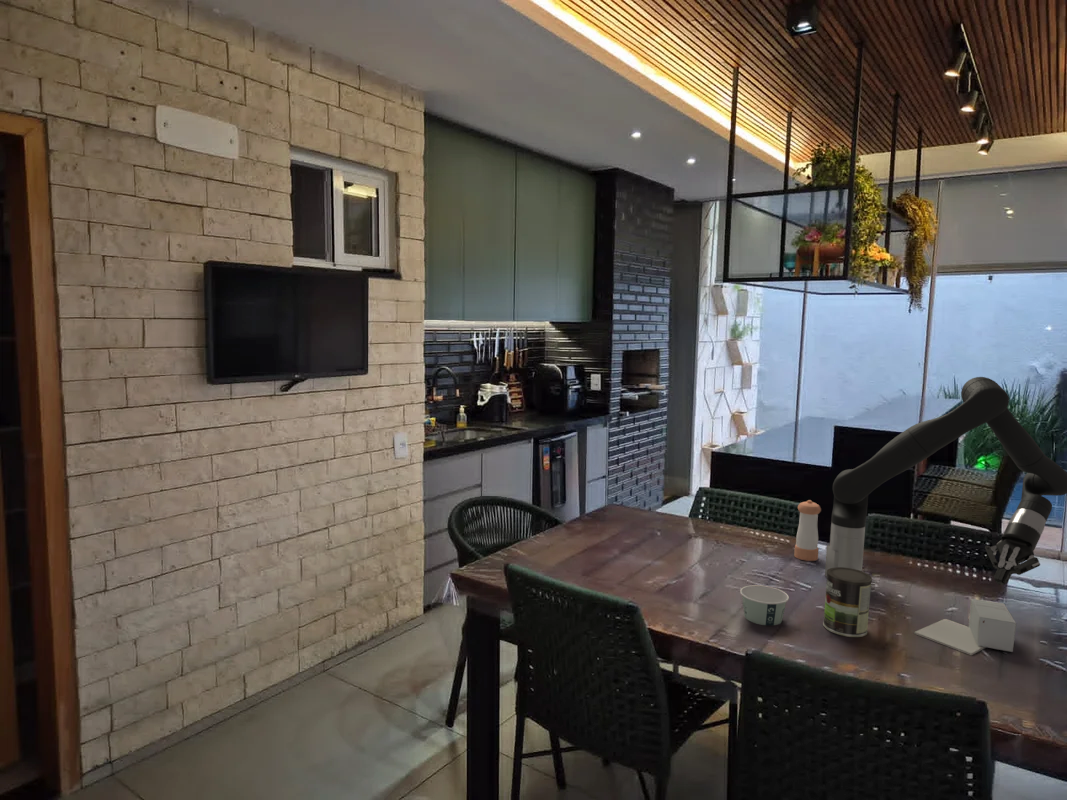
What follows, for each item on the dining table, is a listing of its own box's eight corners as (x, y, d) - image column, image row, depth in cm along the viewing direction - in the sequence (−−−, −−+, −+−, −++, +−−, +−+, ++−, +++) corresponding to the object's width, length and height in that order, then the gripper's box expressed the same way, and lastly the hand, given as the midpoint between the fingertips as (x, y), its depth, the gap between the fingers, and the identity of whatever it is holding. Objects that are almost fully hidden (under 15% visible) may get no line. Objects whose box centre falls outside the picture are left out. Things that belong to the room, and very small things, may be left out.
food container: (733, 607, 183) (734, 584, 183) (778, 609, 183) (780, 585, 182) (745, 627, 172) (747, 602, 171) (794, 628, 171) (795, 603, 170)
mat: (971, 655, 159) (971, 653, 159) (914, 633, 170) (914, 631, 169) (1000, 640, 167) (1000, 638, 167) (944, 620, 178) (945, 618, 178)
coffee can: (836, 638, 166) (840, 582, 165) (815, 620, 177) (819, 567, 175) (876, 637, 167) (881, 581, 166) (853, 619, 177) (857, 566, 176)
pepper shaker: (821, 561, 222) (825, 503, 220) (798, 560, 222) (802, 502, 220) (812, 553, 229) (816, 497, 227) (791, 553, 229) (794, 497, 227)
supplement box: (967, 625, 174) (976, 646, 162) (970, 597, 173) (979, 616, 161) (1002, 632, 171) (1013, 653, 159) (1005, 603, 170) (1016, 622, 158)
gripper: (1056, 544, 179) (1031, 599, 174) (1000, 531, 190) (975, 582, 185) (1049, 528, 176) (1024, 583, 171) (993, 515, 187) (967, 567, 182)
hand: (998, 582), depth 178 cm, fingers closed
